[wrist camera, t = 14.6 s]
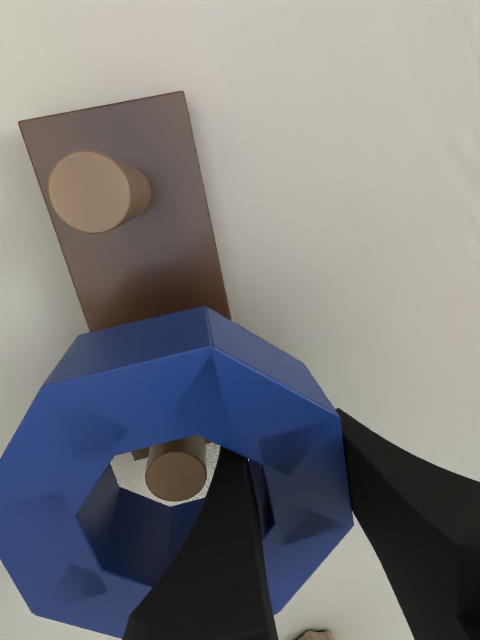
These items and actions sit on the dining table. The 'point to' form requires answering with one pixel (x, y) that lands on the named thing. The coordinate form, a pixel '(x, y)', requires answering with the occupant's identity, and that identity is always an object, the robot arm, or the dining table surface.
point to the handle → (317, 636)
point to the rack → (133, 233)
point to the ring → (152, 429)
